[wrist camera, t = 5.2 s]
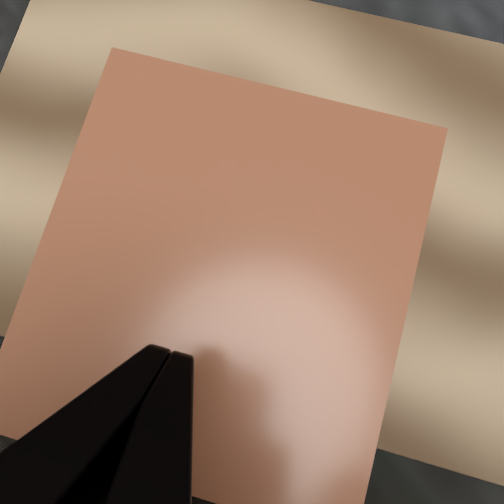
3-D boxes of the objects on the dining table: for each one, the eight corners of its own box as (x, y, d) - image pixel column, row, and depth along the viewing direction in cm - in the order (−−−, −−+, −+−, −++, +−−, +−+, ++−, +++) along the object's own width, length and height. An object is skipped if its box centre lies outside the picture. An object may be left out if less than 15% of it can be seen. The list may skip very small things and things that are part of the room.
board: (517, 486, 15) (531, 494, 14) (-78, 309, 16) (-96, 307, 16) (587, 78, 17) (603, 66, 16) (62, -40, 19) (53, -57, 18)
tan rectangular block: (354, 547, 10) (448, 128, 12) (-28, 425, 11) (112, 47, 13) (331, 494, 14) (405, 178, 16) (45, 405, 15) (146, 113, 17)
